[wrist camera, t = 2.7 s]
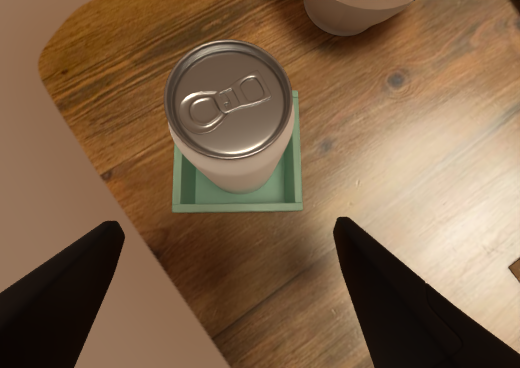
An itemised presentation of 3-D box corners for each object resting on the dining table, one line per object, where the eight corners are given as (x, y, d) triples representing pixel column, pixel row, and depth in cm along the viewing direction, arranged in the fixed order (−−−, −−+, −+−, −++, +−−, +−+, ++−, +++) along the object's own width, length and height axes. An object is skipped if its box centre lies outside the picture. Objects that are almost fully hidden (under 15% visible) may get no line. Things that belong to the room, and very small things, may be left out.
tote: (290, 211, 22) (303, 210, 17) (190, 213, 21) (171, 212, 16) (287, 117, 23) (298, 90, 18) (192, 117, 23) (176, 88, 18)
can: (195, 147, 22) (129, 63, 10) (255, 119, 22) (261, 9, 10) (224, 207, 21) (191, 196, 9) (285, 176, 22) (329, 129, 10)
